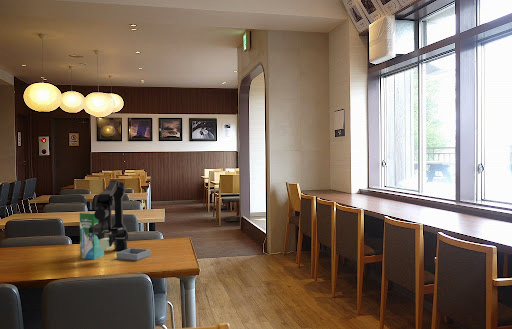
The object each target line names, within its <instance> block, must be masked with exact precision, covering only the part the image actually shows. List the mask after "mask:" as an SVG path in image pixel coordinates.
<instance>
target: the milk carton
mask: <svg viewBox="0 0 512 329" xmlns="http://www.w3.org/2000/svg"><path fill="white" fill-rule="evenodd" d="M94 213H95V211H93V212H92V211H90V212H89V213H84V212H83V213H82V212H80V213H79V244H80V246H79V248H80V250H79V251H80V252H79V253H80V259H86V260H88V259H89V260H96V259H99V258H102V257H104V256H105V249H99V239H98V237H97V236H96V235H95V234H93V233H94V232H93V233H89V232H88V229H89V227H92V226H94V225H96V224H97V223H98V219H96V218H95V216H94Z"/></svg>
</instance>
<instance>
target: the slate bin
mask: <svg viewBox="0 0 512 329" xmlns="http://www.w3.org/2000/svg"><path fill="white" fill-rule="evenodd" d="M149 257H151V249H148V248H135V247H129V248H128V249H126V250H123V251H117V252H116V260H121V261H133V262H137V261H140V260H143V259H145V258H149Z"/></svg>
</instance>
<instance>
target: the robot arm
mask: <svg viewBox="0 0 512 329" xmlns="http://www.w3.org/2000/svg"><path fill="white" fill-rule="evenodd" d="M126 191H127V186H126V184H125V183H124V182H121V181H120V180H118V179H111V180H109V183H108V185H107V187H106V188H105V189H104V191H101V192H99V194H98V196H97V197H96V199H97V200H96V202H95V203H96V204H95V208H97V209H96V210H94V212H95V213H94V216H95V218H96V219H98V223H97V224H96V225H94V226H92V227H89V229H88V232H89V233H93V232H94V233H93V234H95V235H96V236H97V237H98V239H103V238H105V233H109V234H107V237H108V238H109V246H110V247H111V246H112V244H113V248H114V249H112V251H115V252H116V251H117V252H120V251H123V250H126V249H129V248H128V242H127V240H130V238H129V232H128V229H127V226H126V225H125V222H124V213H123V212H124V209H123V208H124V206H123V205H124V204H123V198H124V196H125V195H126ZM112 206H114V218H112ZM113 221H114V225H112V222H113Z"/></svg>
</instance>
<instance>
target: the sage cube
mask: <svg viewBox="0 0 512 329" xmlns="http://www.w3.org/2000/svg"><path fill="white" fill-rule="evenodd" d="M112 248H114V243H113V244H112V246H111V247H110V246H109V237H104V238H103V239H99V249H104V250H110V249H112Z"/></svg>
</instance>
